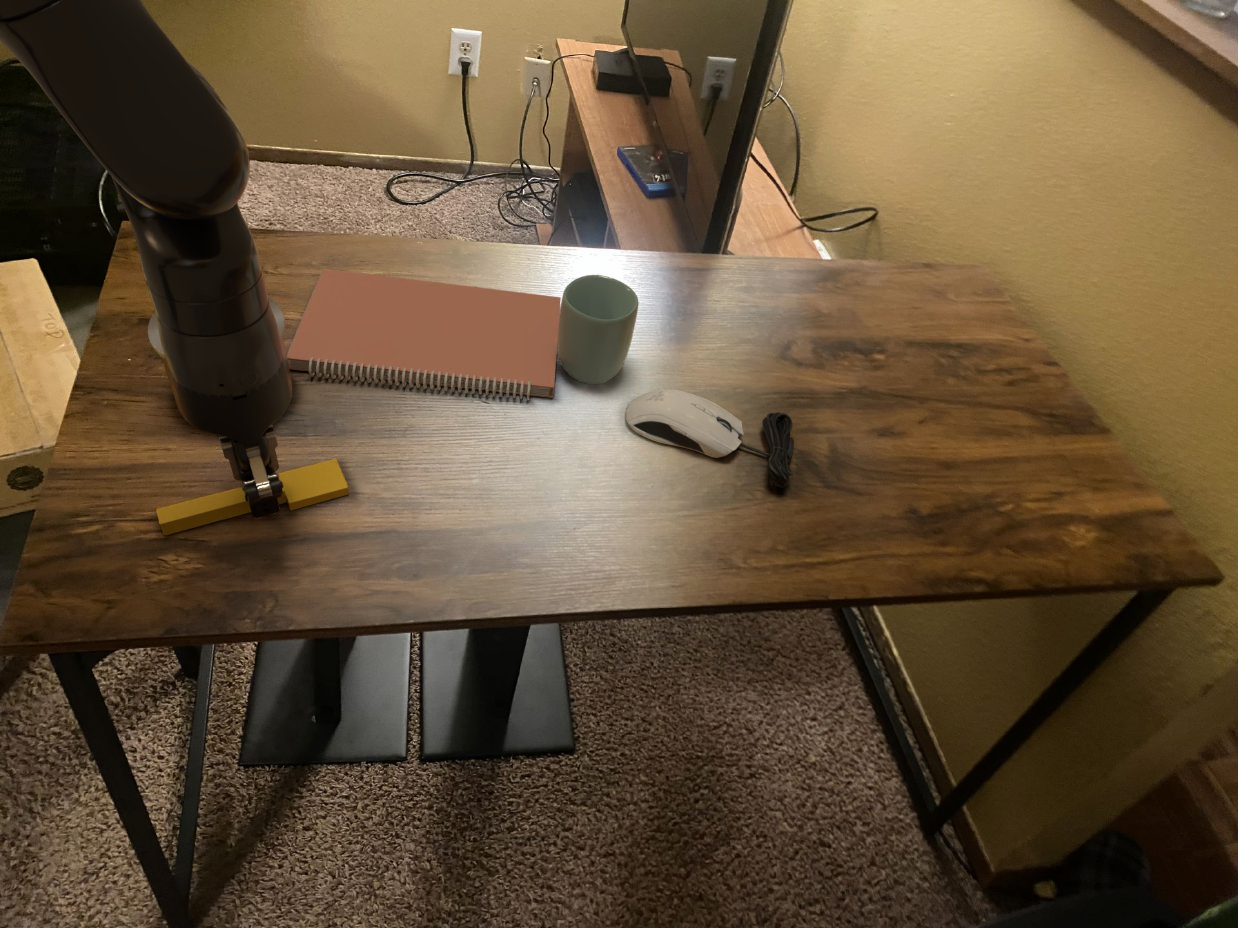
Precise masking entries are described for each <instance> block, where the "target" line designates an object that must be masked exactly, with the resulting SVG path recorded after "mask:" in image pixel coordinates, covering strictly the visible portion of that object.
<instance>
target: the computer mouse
mask: <svg viewBox="0 0 1238 928" xmlns="http://www.w3.org/2000/svg"><path fill="white" fill-rule="evenodd" d="M624 417H625V420H626V422H627V425H629V428H631V429H632V430H633V431H634V432H635V433H636V434H638V435H640V436H642V437H644V438H647V439H648V440H651V441H654V442H657V443H660V444H665V445H670V446H676V447H679V448H680V447H681V448H685V449H689V450H692V451H696V452H698V453H701V454H703V455H706V456H708V457H711V458H715V459H718V458H722V457H726V456H728V455H729V454H731V453H732V452H734V451H736V450H737V449H738V448H740V447H742V448H744V449H746V450H749V451H752V452H755V453H758V454H760V455H764V456H766V457H768V460H767V470H768V480H769V485H770V488H772V489H776V488H780V489H785V488H786V487H787V486H788V482H789V478H790V476H792V475H793V471H792V469H791V468H790V464H791V462H790V461H791V459H792V457H793V455H794V451H795V449H794V446H795V441H794V438H793V433H792V429H793V425H794V423H793V420H792V418H791V416H789V414H787V413H785V412H780V411H779V412H778V411H777V412H769V413H767V415H766V416H765V417H764V418H763V419H762V422H761V423H762V430H763V433H764V435H765V439H766V441H767V443H768V446H769V449H770V451H769V452H766V451H764V450H761V449H757V448H755V447H752V446H749V445H746V444H744V443H743V442H742V440H740V439H739V438H740V437H741V436H745V433H744V427H743V421H742V420H740V419H739V418H737V417H736V416H734V415H733V414H732V413H730V412H729V411H727V410H726V409H725V408H723V407H722V406H719V404H718V403H715V402H713V401H711V400H709V399H707V398H705V397H702V396H700V395H697V394H694V393H691V392H688V391H684V390H680V389H674V388H662V389H656V390H651V391H649V392H646V393H644V394H641V395H639V396H637V397H635V398H633V399H632V400H630V402H629V403H627V405H626V407H625V410H624Z"/></svg>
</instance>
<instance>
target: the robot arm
mask: <svg viewBox="0 0 1238 928" xmlns="http://www.w3.org/2000/svg"><path fill="white" fill-rule="evenodd" d="M0 43H1V44H2V45H3V46H4V47H5V48H6V49H7V50H8V51H9V52H10V53H11V54H12V55H13V56H14V57H15V58H16V59H17V60H18V61H19V63H20V64H21V65H22V66H23V67H24V68H25V69H26V70H27V72H29V74H30V76H32V78H33V79H34V80H35V81H36V82H37V84H38V85H39V86H40V88H41V89H42V91H43V92H44V94H45V95H46V96H47V97H48V99H49V100H50V102H52V104H53V105H54V106H55V108H56V109H57V110H58V112H59V113H60V114H61V116H62V117H63V118H64V120H65V121H66V122H67V123H68V125H69V126H70V127H71V128H72V130H73V131H74V132H75V134H76V135H77V136H78V138H79V139H80V140H81V141H82V143H83V144H84V145H85V147H87V149H88V150H89V151H90V153H91V154H92V155H93V156H94V158H95V159H96V160H97V161H98V162H99V164H101V166H102V167H103V168H104V169H105V171H107V173H108V174H109V175H110V177H111V178H112V181H113V183H114V187H115V188H116V191H117V193H118V196H119V199H120V202H121V203H122V207H123V208H124V211H125V213H126V216H127V218H128V220H129V223H130V225H131V229H132V231H133V234H134V238H135V239H134V240H135V242H136V246H137V250H138V252H137V253H138V256H139V261H140V267H141V271H142V275H143V278H144V280H145V281H144V282H145V284H146V288H147V291H148V294H149V297H150V301H151V304H152V306H153V310H154V313H156V317H157V321H158V329H159V335H160V341H161V345H162V348H163V352H164V355H165V358H166V361H167V364H168V367H169V370H170V373H171V376H172V379H173V382H174V385H175V389H176V392H177V395H178V398H179V401H180V404H181V407H182V410H183V413H184V415H185V417H186V418H187V419H188V421H189V422H190V423H191V424H192V425H194V426H195V427H194V426H193V427H194V428H196V427H197V428H196V429H199V430H200V431H202V432H205V433H208V434H211V435H215V436H218V441H219V444H220V447H221V449H222V450H221V452H222V454H223V457H224V459H226V460H228V462H229V466H230V468H231V473H232V476H233V479H234V480H235V481H240V482H241V485H240V487H242V491H244V492H245V500H246V501H248V503H249V505H250V509H251V512H250V513H251V515H252V517H253V518H255V519H261V518H265V517H268V516H269V517H270V516H272V515H276V514H277V513H280V511H281V508H280V504H279V503H278V499H277V498H279V497H281V495H282V493H283V490H282V488H284V486H283V483H282V481H281V482H280V480H279V475H278V473H277V471H278V470H279V469H280V465H279V460H278V455H277V451H276V450H277V449H276V448H278V446H279V442H278V437H277V435H276V431H275V428H274V425H273V424H275V423H276V422H277V421H278V420H279V419H280V418H281V417H282V416H283V415H284V414H285V412H286V411H287V409H288V408H289V406H290V404H289V401H290V389H289V384H288V379H287V374H286V368H285V363H284V358H283V353H282V348H281V342H280V337H279V332H278V327H277V323H276V320H275V317H274V314H273V312H272V309H271V306H270V303H269V300H268V297H269V296H268V295H269V294H268V290H267V285H266V280H265V279H266V278H265V275H264V270H263V264H262V260H261V257H260V251H259V249H258V246H257V244H256V240H255V238H254V235H253V233H252V232H251V230H250V227H249V225H248V224H247V221H246V220H245V217H244V216H243V214H242V211H241V208H240V205H239V203H238V202H239V201H240V199H242V196H243V194H244V193H245V191H246V188H247V186H248V182H249V179H250V171H251V169H250V168H251V163H250V162H251V161H250V152H249V148H248V145H247V142H246V139H245V137H244V134H243V132H242V130H241V128H240V126H239V125H238V123H237V122H236V120H235V119H234V117H233V115H232V114H231V113H230V111H229V110H228V108H227V107H226V105H225V104H224V103H223V101H222V99H221V97H220V96H219V94H218V93H217V91H216V90H215V88H214V86H213V85H212V84H211V82H209V80H208V79H207V78H206V77H205V76H204V75H203V73H202V72H201V71H200V70H198V69H197V68H196V67H195V66H194V65H192V64H191V63H189V61H187V60H186V59H185V57H184V55H182V53H181V52H180V50H179V49H178V48H177V47H176V46H175V44H174V43H173V42H172V41H171V39H170V38H169V37H168V36H167V34H166V33H165V32H164V31H163V29H162V28H161V26H160V25H159V24H158V23H157V21H156V20H155V19H154V18H153V15H151V13H150V12H149V11H148V9H147V6H146V5H145V4H144V1H143V0H0ZM288 405H289V406H288ZM287 407H288V408H287ZM190 423H189V424H190ZM191 424H190V425H191ZM192 425H191V426H192Z"/></svg>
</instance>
